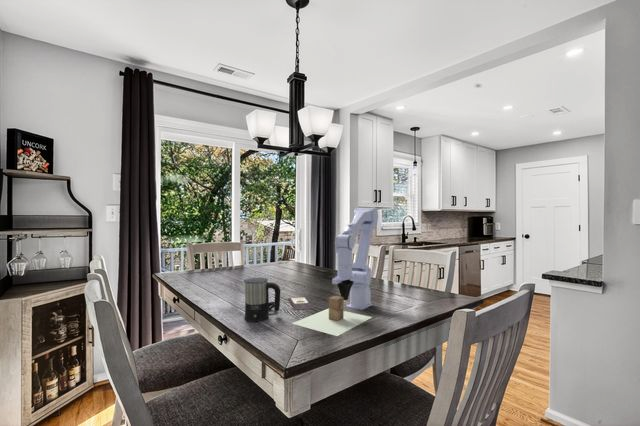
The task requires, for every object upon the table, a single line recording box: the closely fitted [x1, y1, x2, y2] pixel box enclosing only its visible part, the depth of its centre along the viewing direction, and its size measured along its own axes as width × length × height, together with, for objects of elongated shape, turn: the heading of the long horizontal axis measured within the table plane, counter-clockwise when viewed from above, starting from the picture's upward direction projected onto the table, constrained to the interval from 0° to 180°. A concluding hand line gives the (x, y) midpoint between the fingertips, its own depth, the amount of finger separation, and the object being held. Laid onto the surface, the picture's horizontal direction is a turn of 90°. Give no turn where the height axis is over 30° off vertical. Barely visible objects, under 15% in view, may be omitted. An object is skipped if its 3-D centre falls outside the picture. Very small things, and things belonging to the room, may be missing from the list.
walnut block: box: [328, 295, 345, 321], centre depth 123 cm, size 4×4×8 cm
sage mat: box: [291, 307, 373, 337], centre depth 122 cm, size 24×20×1 cm
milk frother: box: [243, 276, 281, 322], centre depth 130 cm, size 14×16×15 cm
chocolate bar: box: [287, 296, 317, 311], centre depth 144 cm, size 9×1×18 cm
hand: (344, 299), depth 128 cm, fingers closed
